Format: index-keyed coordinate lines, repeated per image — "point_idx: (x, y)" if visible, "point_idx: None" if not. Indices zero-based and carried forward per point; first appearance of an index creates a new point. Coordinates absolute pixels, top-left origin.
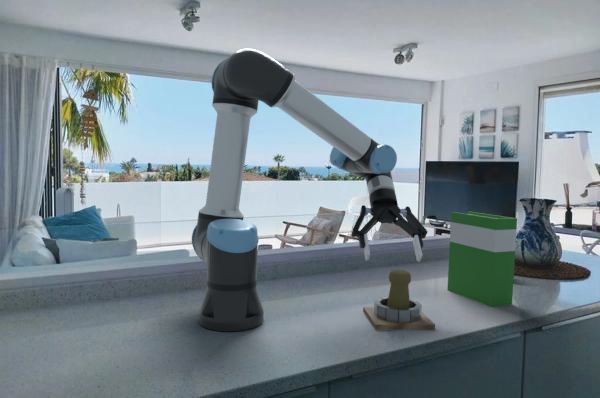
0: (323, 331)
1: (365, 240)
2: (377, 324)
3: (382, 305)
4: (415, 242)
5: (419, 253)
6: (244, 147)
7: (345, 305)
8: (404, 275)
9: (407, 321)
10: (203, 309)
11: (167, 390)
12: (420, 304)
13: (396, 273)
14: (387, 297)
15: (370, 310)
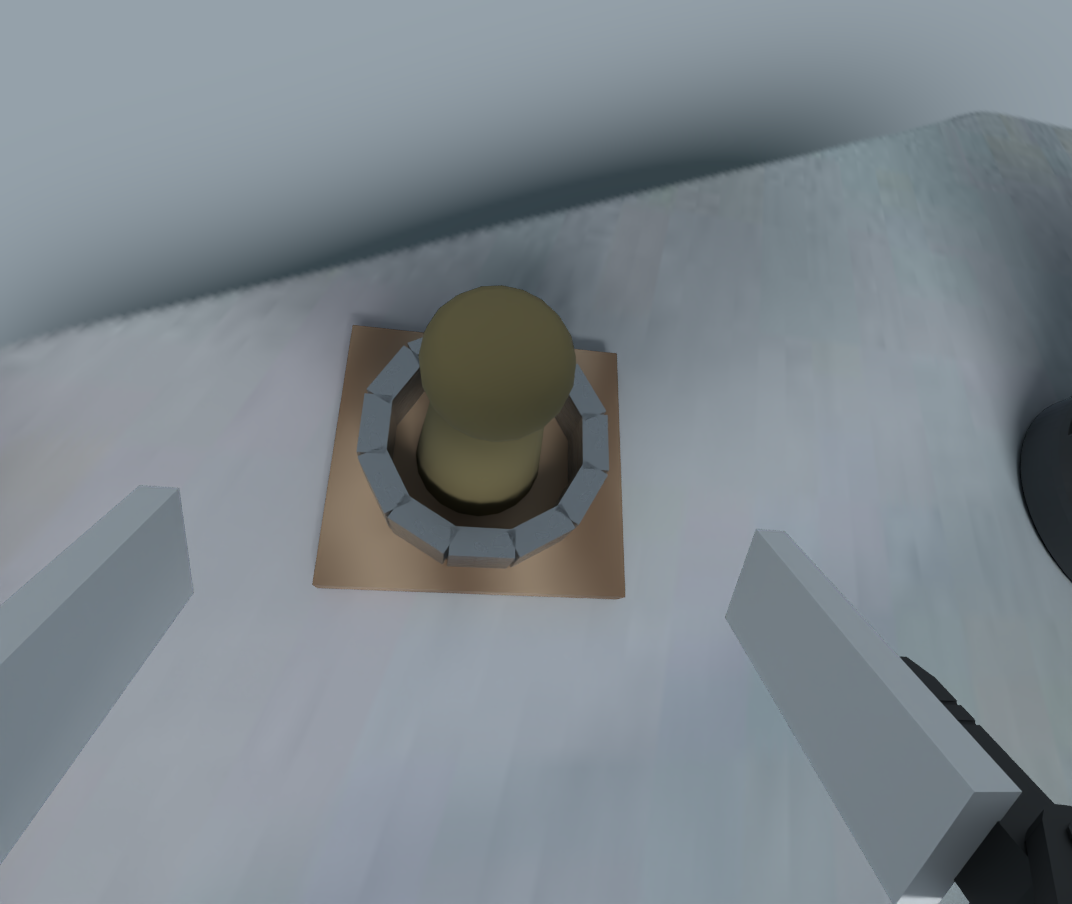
0: (800, 373)
1: (909, 672)
2: (608, 354)
3: (583, 403)
4: (21, 707)
5: (161, 502)
6: None
7: (695, 718)
8: (493, 286)
9: None
10: None
11: (1067, 133)
12: (367, 400)
13: (545, 307)
14: (513, 541)
15: (598, 536)
